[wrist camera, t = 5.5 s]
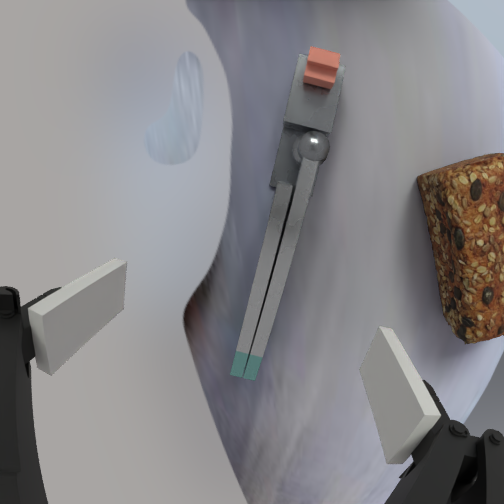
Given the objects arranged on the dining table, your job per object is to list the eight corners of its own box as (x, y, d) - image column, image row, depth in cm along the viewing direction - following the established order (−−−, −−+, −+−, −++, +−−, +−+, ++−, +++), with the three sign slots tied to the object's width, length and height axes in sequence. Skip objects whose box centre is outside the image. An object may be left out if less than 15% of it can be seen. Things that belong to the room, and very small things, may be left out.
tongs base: (297, 67, 27) (300, 39, 20) (340, 78, 27) (354, 53, 20) (233, 336, 35) (221, 372, 28) (270, 345, 35) (266, 383, 28)
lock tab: (309, 54, 23) (311, 42, 20) (336, 61, 23) (341, 50, 20) (302, 82, 24) (304, 72, 21) (331, 89, 24) (335, 80, 21)
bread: (497, 292, 31) (540, 322, 21) (435, 320, 33) (472, 362, 23) (478, 152, 27) (531, 149, 17) (408, 172, 29) (454, 172, 19)
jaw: (299, 138, 29) (302, 127, 22) (322, 144, 28) (332, 135, 22) (245, 342, 35) (237, 376, 28) (265, 348, 34) (260, 382, 28)
